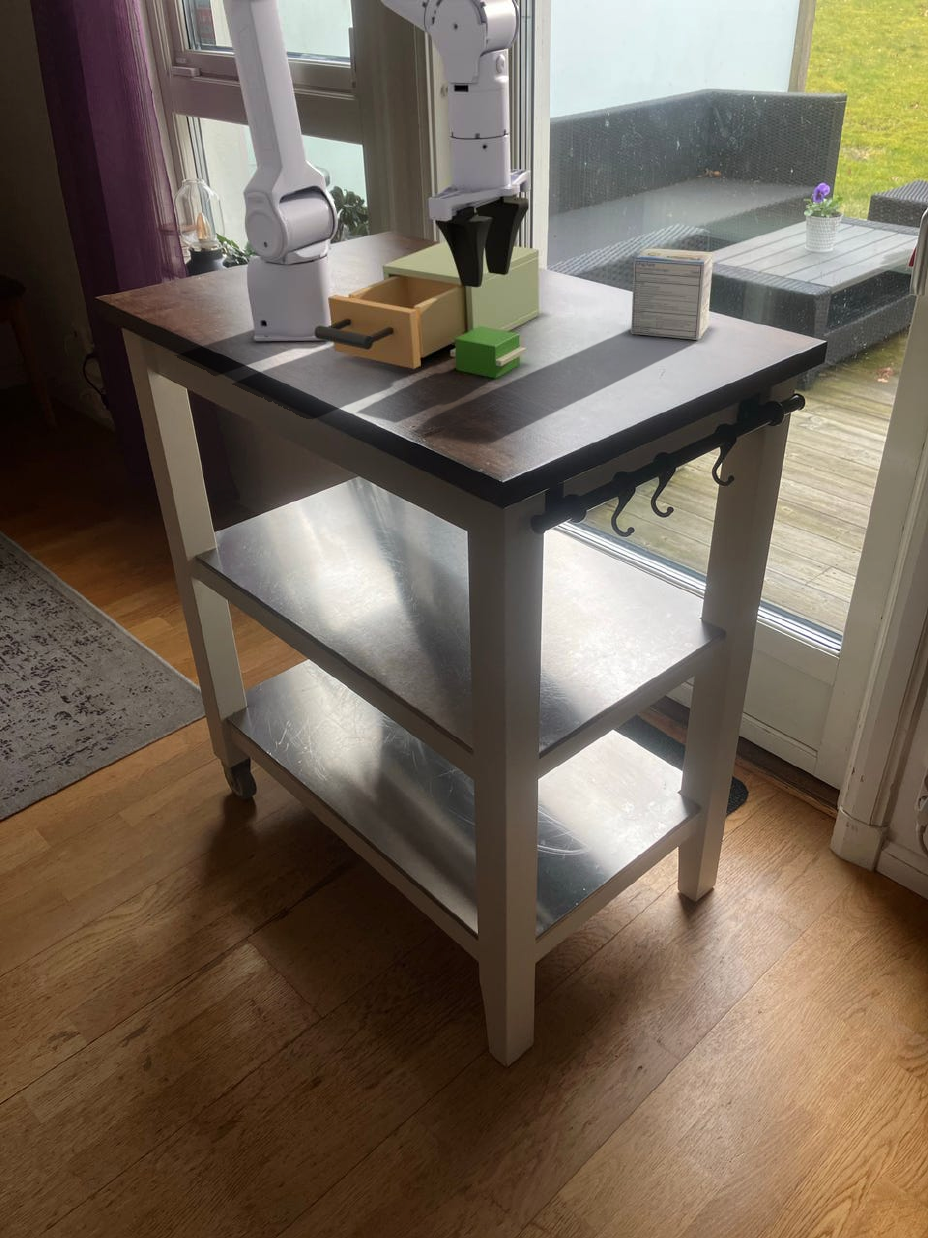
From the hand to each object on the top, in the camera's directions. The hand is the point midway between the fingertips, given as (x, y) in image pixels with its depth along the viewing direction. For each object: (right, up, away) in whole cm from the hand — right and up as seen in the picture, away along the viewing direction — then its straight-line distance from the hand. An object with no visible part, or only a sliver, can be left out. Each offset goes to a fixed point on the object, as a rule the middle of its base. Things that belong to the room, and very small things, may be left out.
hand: (485, 279), depth 103 cm
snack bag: (0, -8, +5) cm, 9 cm away
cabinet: (-2, +1, +18) cm, 18 cm away
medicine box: (+21, -2, +12) cm, 24 cm away
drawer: (-10, -5, +9) cm, 14 cm away
